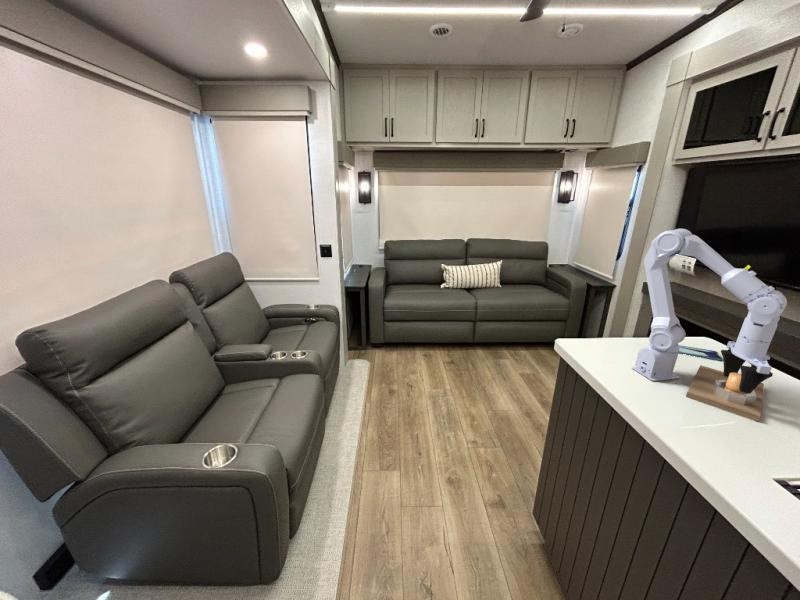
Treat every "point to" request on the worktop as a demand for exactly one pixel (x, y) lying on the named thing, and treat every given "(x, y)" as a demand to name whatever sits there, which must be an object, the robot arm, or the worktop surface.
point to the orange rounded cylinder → (734, 383)
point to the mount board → (704, 393)
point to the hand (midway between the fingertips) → (736, 383)
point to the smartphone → (700, 353)
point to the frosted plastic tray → (733, 394)
